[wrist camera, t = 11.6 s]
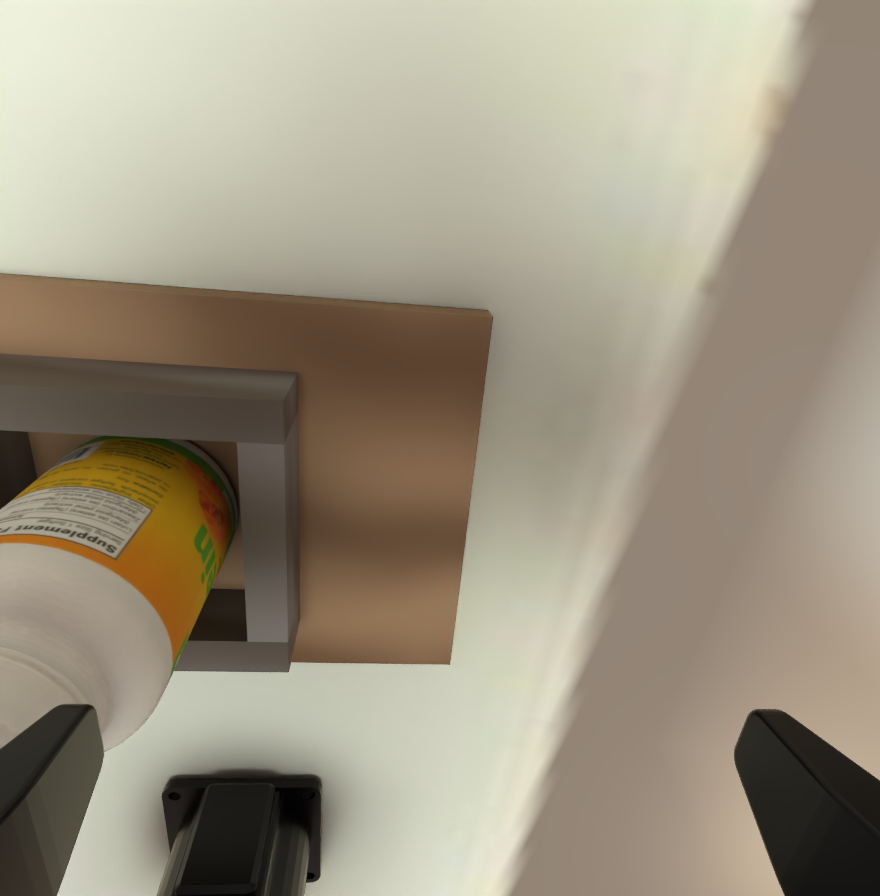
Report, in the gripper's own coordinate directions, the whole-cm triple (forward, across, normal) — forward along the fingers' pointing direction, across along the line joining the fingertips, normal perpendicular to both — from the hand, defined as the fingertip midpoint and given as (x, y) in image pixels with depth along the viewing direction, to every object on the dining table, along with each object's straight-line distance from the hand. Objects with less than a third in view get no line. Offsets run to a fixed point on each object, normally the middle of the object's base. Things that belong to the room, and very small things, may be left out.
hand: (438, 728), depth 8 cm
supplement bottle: (+11, +8, +3) cm, 14 cm away
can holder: (+12, +8, +3) cm, 15 cm away
